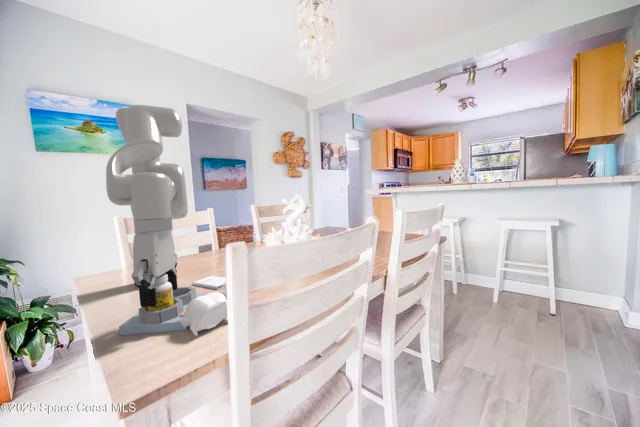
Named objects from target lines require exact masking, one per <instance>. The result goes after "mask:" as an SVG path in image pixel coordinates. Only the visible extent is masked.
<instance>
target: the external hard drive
mask: <svg viewBox="0 0 640 427" xmlns="http://www.w3.org/2000/svg"><path fill="white" fill-rule="evenodd" d="M226 278H227V277H224V276H223V277H222V276H214V275H210V276H207V277H204V278H200V279H198V280H195V281H193V282H192V286H196V287H200V288H201V287H202V288H206V289H212V290H216V289H219V288H221V287H222V286H223V284H224V283H225V282H226ZM219 290H220V289H219Z"/></svg>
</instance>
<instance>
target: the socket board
mask: <svg viewBox="0 0 640 427" xmlns="http://www.w3.org/2000/svg"><path fill="white" fill-rule="evenodd" d="M177 287H178V288H177V289H176V290H172V291H173V300H174V306H172V307H169V308H166V309H163V310H158V311H148V307H141V306H140V308H138V312H137V313H136V314H134V315H133V316H132V317H131V318H129V319H128V320H126V321H125V322H123V323H122V324H121V325H119V326H118V329H119V336H128V335H142V334H152V333H153V334H154V333H155V334H156V333H167V332H179V331H186V330H185V328H184V326H183V325H182V324H181V323H180V321H179V320H180V319H183V315H184V313H185V311H186V308H187V305H188V304H189V303H190V301H192V300H193V299H195V298H198V297H201V296H203V295H206V294H209V293H210V292H208V293H197V290H196V288H194V287H192V286H177ZM188 327H189V326H187V328H188Z"/></svg>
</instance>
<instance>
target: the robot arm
mask: <svg viewBox="0 0 640 427" xmlns="http://www.w3.org/2000/svg"><path fill="white" fill-rule="evenodd" d="M115 119H116V123H117V126H118V129H119V131H120V133H121V134H120V135H121V136H122V138H123V139H124V141H125V142H126V143H125V144H123V145H122V146H121V147H119V148H118V149H117V150H116V151H115V152H114V153H113V154H112V155H111V156H110V158H109V159H108V161H107V164H106V166H105V172H106V173H105V176H106V177H105V180H106V181H105V184H106V185H105V189H106V194H107V198H108V199H109V201H110V202H111V203H113V204H114V205H117V206H130V211H131V214H132V218H133V220H132V221H133V227H134V236H133V243H132V264H133V265H132V267H133V268H132V269H133V272H132V273H131V278H132V280H133V283H134V286H135V287H136V290H137V291H138V292H139V293H138V294H139V304H140V305H139V306H140V308H141V307H151V306H156V305H157V299H156V288H153V286H154V282H155V279H156V277H159V276H160V275H162V274H167V275H168V281H167V282H170V283H171V284H172V290H176V289H177V288H178V287H179V286H178V280H177V279H178V275H177V274H178V270H177V266H178V263H177V261H178V254H177V253H176V250H175V243H174V238H173V232H172V231H174V230H173V220H180V219H184V218H185V217H187V215H188V210H189V206H188V198H187V196H188V195H187V186H186V176H185V172H184V170H183V168H182V167H181V165H179V164H177V163H163V162H161V160H160V159H161V158H160V156H161V155H162V154H163V151H164V146H163V140H162V139H163V138H165V137H166V138H178V137H180V136H181V135H182V130H183V123H182V118H181V116H180V114H179V113H178V111H177V110H175V109H174V108H171V107H163V106H154V105H145V104H134V105H131V106H129V107H121V108H119V109H117V110H116V112H115ZM128 169H131V173H132V174H123V173H124V172H126V171H127V170H128ZM148 279H150V280H149V283H148Z"/></svg>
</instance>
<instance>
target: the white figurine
mask: <svg viewBox="0 0 640 427" xmlns="http://www.w3.org/2000/svg"><path fill="white" fill-rule="evenodd" d="M208 293H209V294H207V293H205V294H206V295H203V296H201V297H198V298H195V299H193V300H192V301H190V303H189V304H188V305H187V308H186V311H185V313H184V315H183V319H180V320H179V321H180V323H181V324H182V325H183V326H184V328H185V330H184V331H187V329H188V327H189V329H190V331H191V333H192V334H193V335H194V336H195V337H196V338H197V337H198V336H199V335H198V332H201V331H204V330H209V329H212V328H214V327H216V326H217V325H218V324H219V323H221V322H222V321H223V320H225V321H227V302H228V301H227V289H226V282H225V283H224V284H223V286H222V288H221V289H220V292H216V291H215V292H208ZM187 326H188V327H187Z"/></svg>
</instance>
